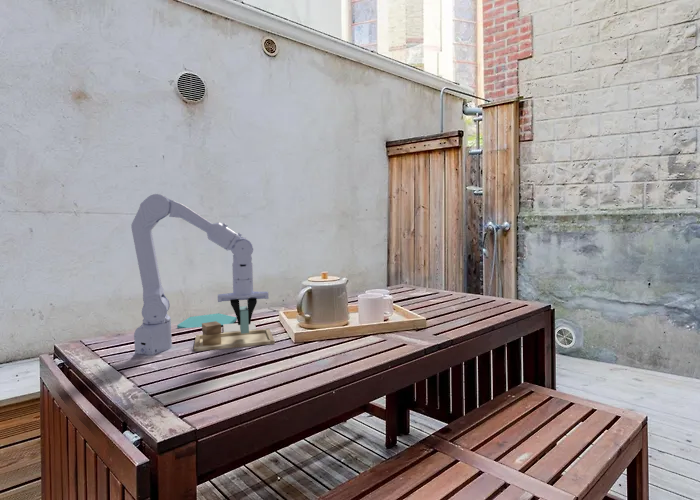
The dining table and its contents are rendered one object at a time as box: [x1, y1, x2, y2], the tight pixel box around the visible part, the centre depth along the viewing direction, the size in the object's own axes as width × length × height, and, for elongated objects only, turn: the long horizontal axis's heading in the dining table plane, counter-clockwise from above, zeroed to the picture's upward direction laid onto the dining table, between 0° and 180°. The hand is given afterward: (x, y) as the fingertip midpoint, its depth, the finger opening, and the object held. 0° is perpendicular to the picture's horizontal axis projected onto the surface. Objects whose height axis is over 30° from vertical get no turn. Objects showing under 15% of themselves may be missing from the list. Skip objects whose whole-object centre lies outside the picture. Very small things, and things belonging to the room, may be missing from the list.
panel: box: [240, 305, 249, 334], centre depth 131 cm, size 2×7×6 cm, turn 17°
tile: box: [222, 321, 257, 333], centre depth 143 cm, size 10×10×2 cm
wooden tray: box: [193, 328, 276, 352], centre depth 130 cm, size 22×14×2 cm, turn 107°
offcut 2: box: [202, 332, 222, 346], centre depth 128 cm, size 5×5×3 cm
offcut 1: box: [201, 321, 222, 335], centre depth 128 cm, size 4×5×2 cm
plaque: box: [176, 312, 238, 329], centre depth 154 cm, size 17×2×20 cm
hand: (244, 324), depth 131 cm, fingers closed on panel, 2 cm apart
